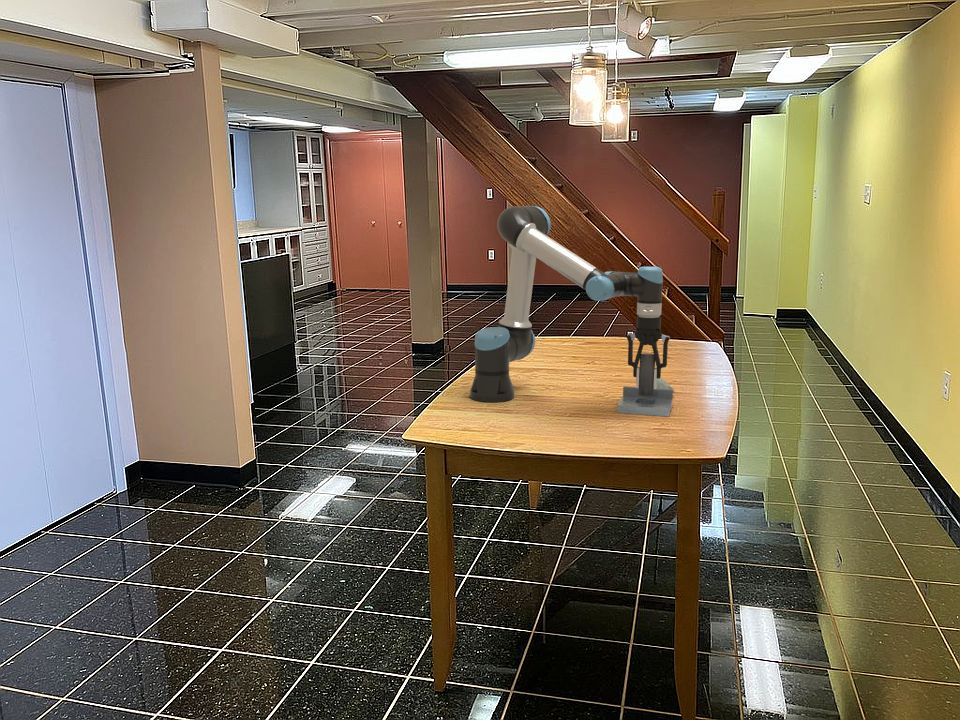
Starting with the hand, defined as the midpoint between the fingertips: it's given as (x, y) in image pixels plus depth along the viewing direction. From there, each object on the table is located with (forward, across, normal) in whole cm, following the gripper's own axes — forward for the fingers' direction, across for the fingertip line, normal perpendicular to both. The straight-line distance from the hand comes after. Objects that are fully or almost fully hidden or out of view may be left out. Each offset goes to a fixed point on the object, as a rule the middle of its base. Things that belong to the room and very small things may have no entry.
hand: (646, 387), depth 261 cm
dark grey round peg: (+2, 0, 0) cm, 2 cm away
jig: (+7, 0, 0) cm, 7 cm away
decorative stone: (+8, +1, +19) cm, 20 cm away
